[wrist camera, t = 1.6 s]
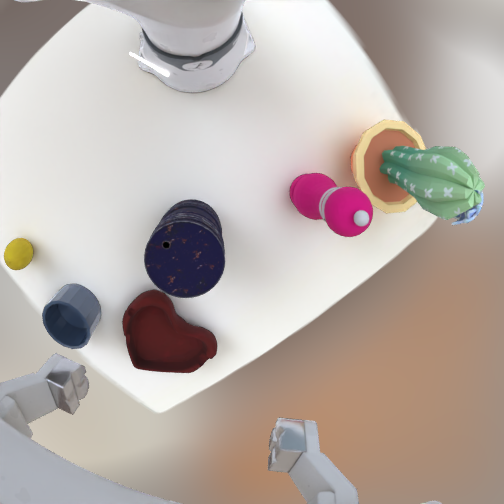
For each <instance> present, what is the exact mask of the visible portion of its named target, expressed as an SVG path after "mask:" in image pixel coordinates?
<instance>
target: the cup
mask: <svg viewBox="0 0 504 504" xmlns="http://www.w3.org/2000/svg"><path fill="white" fill-rule="evenodd" d="M42 317H43V324H44V326H45V328H46V330H47V332H48V333H49V335H50V336H51V337H52V338H53V339H54V340H55V341H56V342H58V343H59V344H61V345H63V346H65V347H68V348H71V349H79V348H82V347H84V346H85V345H87V343H88V342H89V340H90V338H91V336H92V334H93V332H94V330H95V328H96V326H97V324H98V322H99V320H100V318H101V308H100V304H99V302H98V300H97V298H96V297H95V296H94V294H93V293H92V292H91V291H90V290H88V289H87V288H85V287H83V286H81V285H78V284H67V285H65V286H63V287H62V288H61V289H60V290H59V291H58V292H57V293H56V294H55V295H54V296H53V297H52V299H51V300H50V301H49V302H48V303H47V304H46V305H45V307H44V310H43V313H42Z"/></svg>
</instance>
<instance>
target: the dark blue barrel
mask: <svg viewBox="0 0 504 504" xmlns="http://www.w3.org/2000/svg"><path fill="white" fill-rule="evenodd" d="M144 263H145V268H146V271H147V274H148V276H149V278H150V279H151V280H152V282H153V283H154V284H155V285H156V286H157V287H158V288H159V289H160V290H162V291H163V292H165V293H167V294H169V295H172V296H175V297H179V298H192V297H197V296H200V295H203V294H205V293H206V292H208V291H210V290H211V289H212V288H213V287H214V286H215V285H216V284H217V283H218V281H219V280H220V278H221V276H222V274H223V271H224V267H225V249H224V242H223V237H222V228H221V224H220V221H219V218H218V216H217V214H216V212H215V211H214V210H213V209H212V208H211V207H210V206H209V205H208V204H206V203H204V202H202V201H198V200H185V201H181V202H179V203H177V204H175V205H174V206H173V207H172V208H170V210H168V211H167V213H166V214H165V215H164V216H163V218H162V219H161V221H160V223H159V224H158V225H157V227H156V228H155V230H154V231H153V233H152V235H151V237H150V239H149V241H148V243H147V246H146V249H145V254H144Z"/></svg>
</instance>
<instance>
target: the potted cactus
mask: <svg viewBox="0 0 504 504" xmlns="http://www.w3.org/2000/svg"><path fill="white" fill-rule="evenodd" d="M351 171H352V173H353V174H354V179H355V181H356V183H357V185H358V187H359V189H360V190H361V191H362V192H364V193H365V194H366V195H367V197H368V198H369V199H370V201H371V204H372V205H373V206H375V207H377V208H378V209H380V210H381V211H383V212H385V213H396V212H405V211H407V210H408V209H409V208H410V207H411V206H413V205H414V204H415V203H416V202H418V203H419V204H420V205H421V207H422V208H423V209H424V210H426V211H428V212H430V213H432V214H434V215H436V216H438V217H440V218H442V219H445V220H448V219H450V218H455V219H458V220H457V221H456V222H453V223H452V225H456V224H461V223H469V222H470V221H472V220H473V219H474V218H475V216H477V215H478V213H479V212H480V210H481V208H482V207H481V206H482V205H483V193H482V190H483V188H484V187H485V186H484V183H483V181H482V180H481V178H480V177H479V172H478V171H477V169H476V168H475V166H474V165H473V163H472V162H471V160H470V159H469V157H468V156H467V155H466V154H465V153H463V152H462V151H461V150H460V149H458V148H456V147H441V146H435V147H432V148H428V149H426V148H425V145H424V143H423V141H422V138H421V136H420V135H419V134H418V133H417V132H416V131H415V130H413V129H412V128H411V127H410V126H409V125H407V124H406V123H405V122H403V121H393V120H383V121H381V122H379V123H378V124H376V125H374V126H373V127H371V128H370V129H368V130H367V131H365V132H364V133H363V134H362V136H361V138H360V140H359V143H358V144H357V145H356V146H355V148H354V150H353V153H352V155H351Z"/></svg>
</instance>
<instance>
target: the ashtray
mask: <svg viewBox="0 0 504 504" xmlns="http://www.w3.org/2000/svg"><path fill="white" fill-rule="evenodd" d="M122 324H123V331H124V335H125V336H126V344H127V349H128V352H129V355H130V358H131V361H132V364H133V366H134V367H135V368H137V369H141V370H148V371H157V372H174V373H191V372H194V371H195V370H197V369H198V368H200V367H201V366H202V365H203V364H204V363H205V362H206V361H207V360H208V359H209V358H210V359H212V358H213V357H214V356H215V355H216V353H217V341H216V338H215V336H214V335H213V334H212V332H210V331H209V330H207V329H205V328H203V327H198V326H193V325H190V324H189V323H187V322H186V321H185V320H183V319H182V318H181V317H180V316H178V315H177V314H176V312H175V309H174V305H173V303H172V301H171V300H170V298H169V297H168V296H167V295H166V294H165V293H163V292H161V291H158V290H150V291H146V292H144V293H142V294H140V295H139V296H138V297H137V298H136V299H135V300H134V301H133V302H132V303H131V304H130V305H129V306H128V308H127V310H126V311H125V314H124V316H123V321H122Z"/></svg>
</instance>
